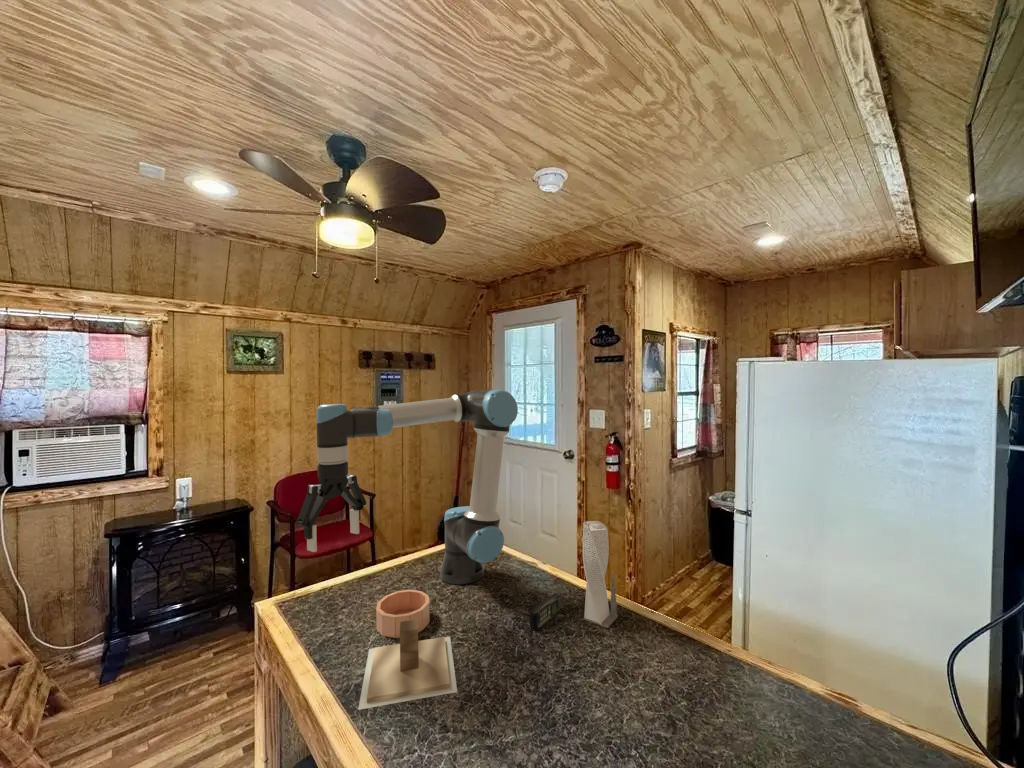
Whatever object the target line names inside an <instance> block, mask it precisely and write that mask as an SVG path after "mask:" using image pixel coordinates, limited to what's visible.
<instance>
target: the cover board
mask: <svg viewBox="0 0 1024 768" xmlns="http://www.w3.org/2000/svg"><path fill="white" fill-rule="evenodd" d="M374 648H375V650H374V656H373V662H372V668H371V674H370V681H369V687H368V693H367V703H369V702H375V701H380V700H386V699H391V698H397V697H403V696H408V695H414V694H419V693H425V692H431V691H436V690H442V689H447V688H450V683H449V673H448V664H447V655H446V646H445V636H444V637H443V636H442V637H437V638H430V639H429V638H428V639H423V640H419V632H418V619H417V620H410V621H403V622H400V638H399V643H397V644H396V643H395V644H389V645H383V646H376V647H374Z"/></svg>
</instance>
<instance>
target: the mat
mask: <svg viewBox="0 0 1024 768" xmlns="http://www.w3.org/2000/svg"><path fill="white" fill-rule="evenodd" d="M444 637H445V636H444ZM445 646H446V655H447V664H448V673H449V683H450V688H447V689H442V690H436V691H431V692H425V693H419V694H414V695H408V696H403V697H397V698H391V699H386V700H380V701H375V702H369V703H367V693H368V687H369V681H370V674H371V668H372V662H373V656H374V650H375V647H373V648H369V649H368V655H367V659H366V664H365V670H364V674H363V675H364V676H363V680H362V685H361V692H360V697H359V702H358V711H360V710H365V709H373V708H376V707H382V706H388V705H392V704H399V703H403V702H410V701H415V700H420V699H425V698H432V697H436V696H443V695H448V694H454V693H458V687H457V679H456V673H455V672H456V671H455V664H454V655H453V650H452V641H451V636H446V637H445Z"/></svg>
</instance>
